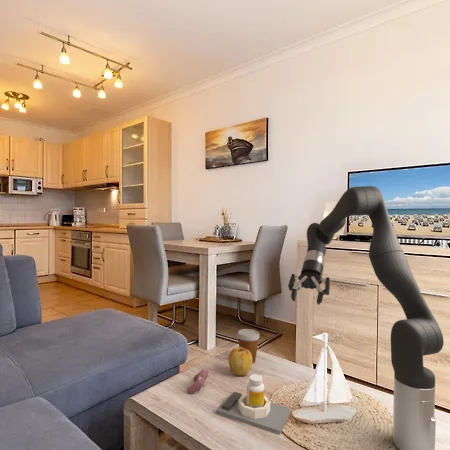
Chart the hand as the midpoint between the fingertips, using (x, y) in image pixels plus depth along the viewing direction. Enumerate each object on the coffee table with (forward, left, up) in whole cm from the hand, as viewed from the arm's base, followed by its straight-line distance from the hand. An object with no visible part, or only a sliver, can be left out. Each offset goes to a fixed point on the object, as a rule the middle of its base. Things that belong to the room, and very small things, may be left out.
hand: (305, 301), depth 111 cm
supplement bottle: (+10, +21, -30) cm, 38 cm away
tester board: (+10, +21, -31) cm, 39 cm away
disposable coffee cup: (+26, -11, -31) cm, 42 cm away
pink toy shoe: (+32, +17, -31) cm, 48 cm away
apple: (+24, +1, -31) cm, 39 cm away
